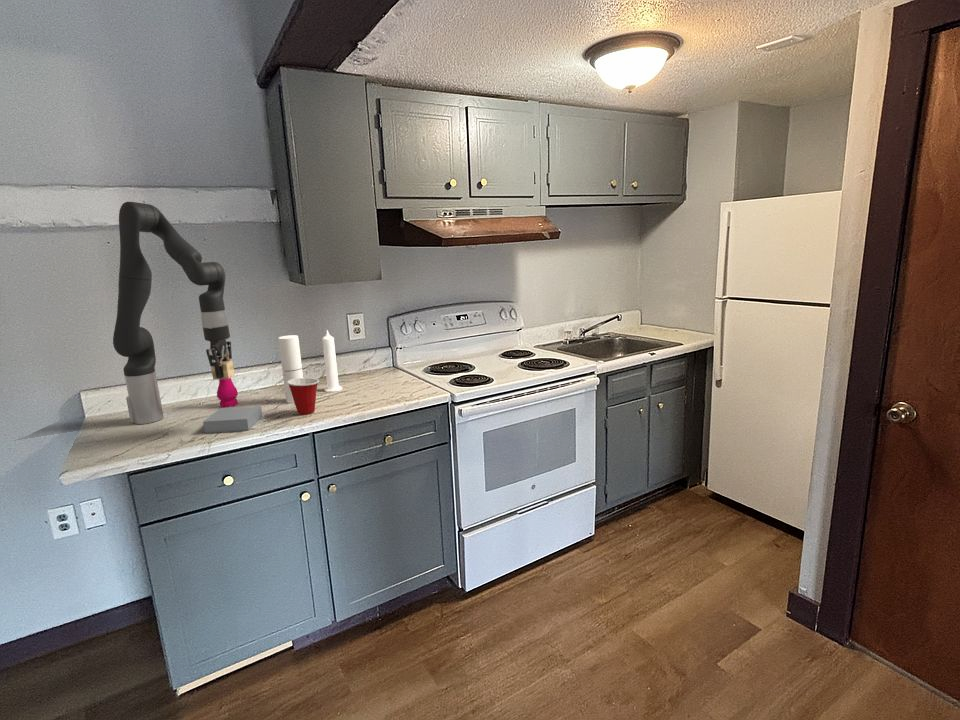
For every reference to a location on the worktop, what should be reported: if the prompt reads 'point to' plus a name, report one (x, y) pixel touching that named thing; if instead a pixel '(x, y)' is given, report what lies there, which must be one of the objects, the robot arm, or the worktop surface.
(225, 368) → the oak cube
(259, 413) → the slate plinth
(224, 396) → the pepper mill
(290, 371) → the cylindrical container
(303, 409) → the plastic cup
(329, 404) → the worktop surface
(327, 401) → the worktop surface
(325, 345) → the candle
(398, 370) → the worktop surface
